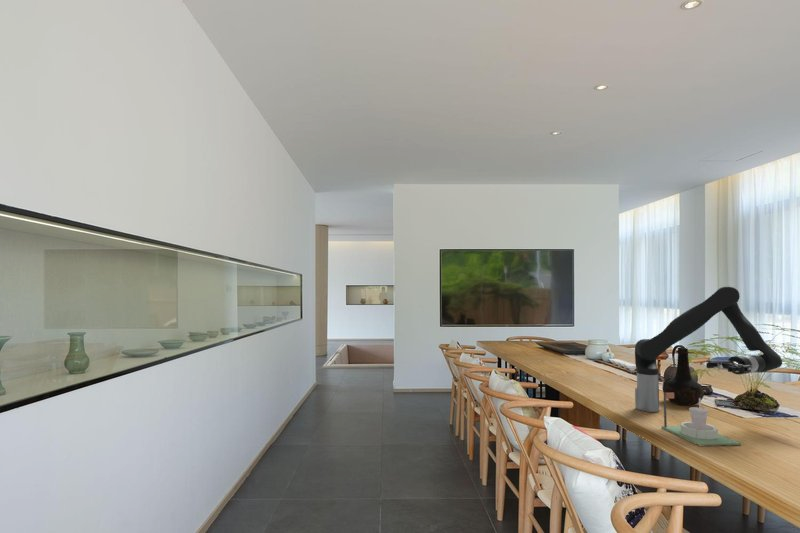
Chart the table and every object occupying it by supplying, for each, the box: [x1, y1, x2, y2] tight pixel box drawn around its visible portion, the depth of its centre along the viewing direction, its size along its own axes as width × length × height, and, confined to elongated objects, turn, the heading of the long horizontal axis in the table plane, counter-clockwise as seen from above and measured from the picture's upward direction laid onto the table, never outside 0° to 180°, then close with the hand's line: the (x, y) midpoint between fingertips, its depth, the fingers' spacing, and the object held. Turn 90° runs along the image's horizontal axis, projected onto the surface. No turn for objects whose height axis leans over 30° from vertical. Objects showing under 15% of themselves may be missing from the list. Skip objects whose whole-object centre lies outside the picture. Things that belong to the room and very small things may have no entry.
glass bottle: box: [662, 347, 705, 407], centre depth 233 cm, size 18×18×28 cm
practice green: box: [661, 392, 742, 446], centre depth 182 cm, size 22×16×15 cm
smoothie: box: [688, 398, 709, 430], centre depth 182 cm, size 6×6×14 cm
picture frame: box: [714, 398, 740, 409], centre depth 229 cm, size 13×2×18 cm
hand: (717, 367), depth 189 cm, fingers open, 8 cm apart
